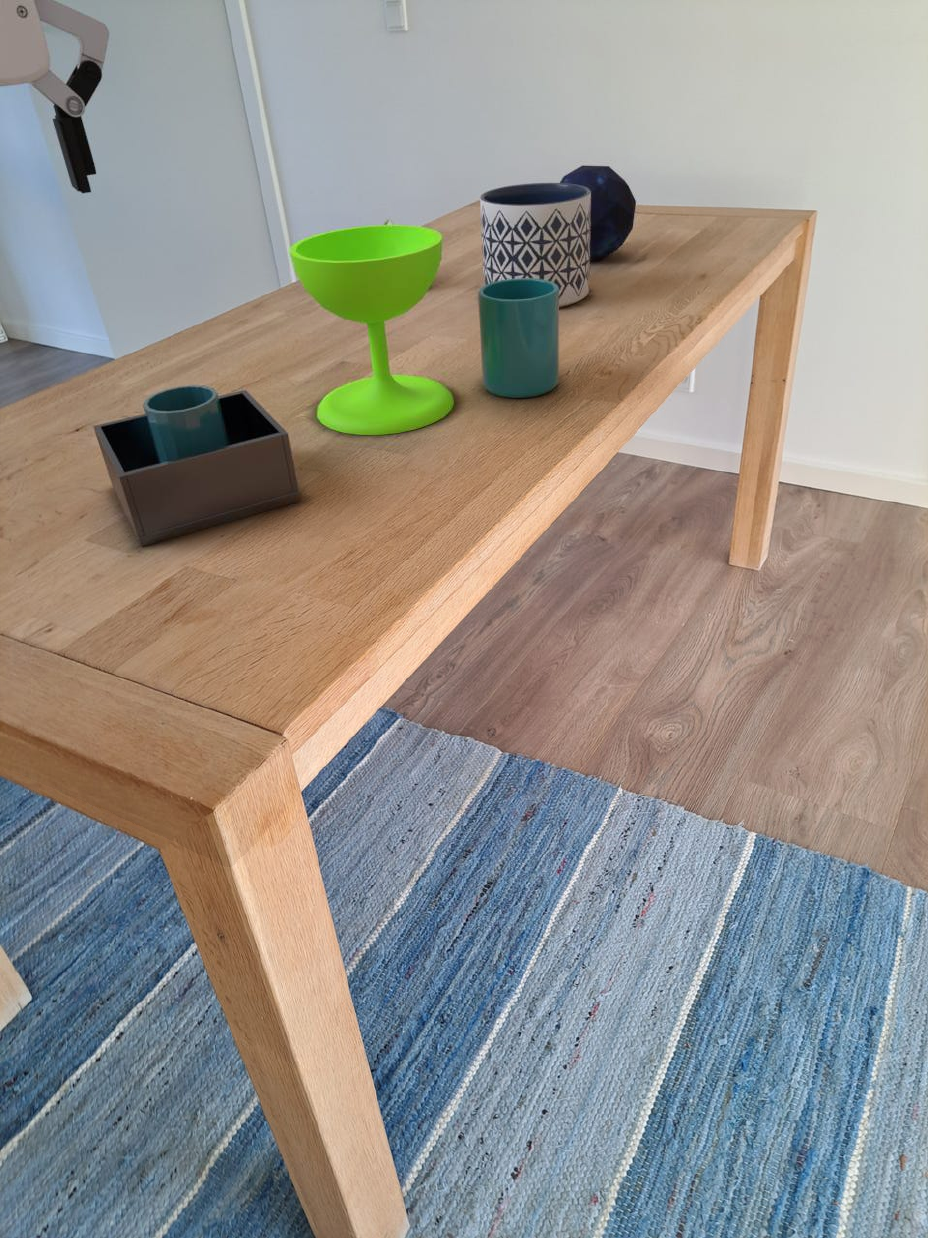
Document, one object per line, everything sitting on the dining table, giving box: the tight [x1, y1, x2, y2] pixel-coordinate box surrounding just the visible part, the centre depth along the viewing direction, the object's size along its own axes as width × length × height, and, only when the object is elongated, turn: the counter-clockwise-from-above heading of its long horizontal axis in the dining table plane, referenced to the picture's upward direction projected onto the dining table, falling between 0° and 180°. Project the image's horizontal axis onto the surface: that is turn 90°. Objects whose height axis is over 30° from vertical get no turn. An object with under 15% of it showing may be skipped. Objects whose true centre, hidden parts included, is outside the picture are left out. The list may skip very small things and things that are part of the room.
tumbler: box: [142, 384, 229, 464], centre depth 84 cm, size 7×7×9 cm
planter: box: [479, 182, 591, 308], centre depth 131 cm, size 16×16×14 cm
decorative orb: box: [559, 164, 637, 262], centre depth 147 cm, size 14×15×15 cm
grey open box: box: [93, 389, 301, 547], centre depth 85 cm, size 15×13×7 cm
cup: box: [477, 278, 560, 399], centre depth 103 cm, size 9×12×11 cm
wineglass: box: [289, 224, 455, 436], centre depth 98 cm, size 16×16×18 cm
